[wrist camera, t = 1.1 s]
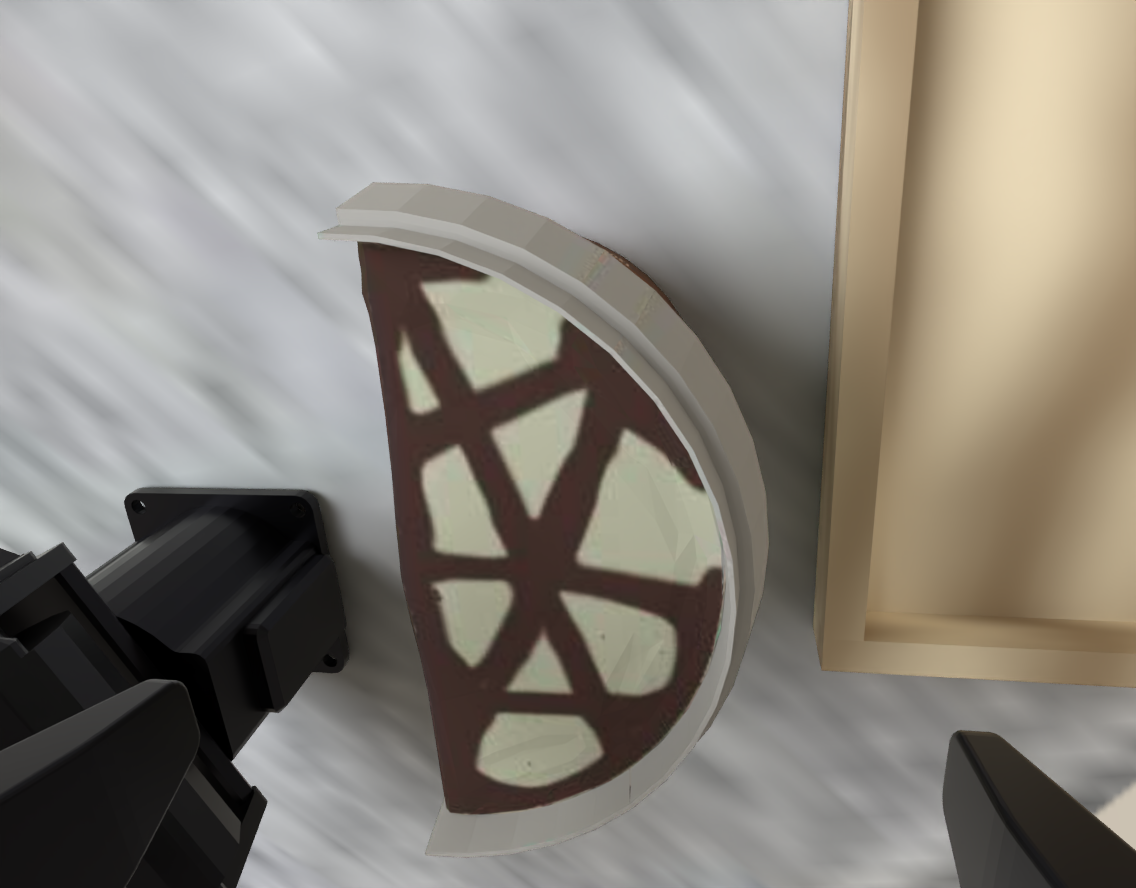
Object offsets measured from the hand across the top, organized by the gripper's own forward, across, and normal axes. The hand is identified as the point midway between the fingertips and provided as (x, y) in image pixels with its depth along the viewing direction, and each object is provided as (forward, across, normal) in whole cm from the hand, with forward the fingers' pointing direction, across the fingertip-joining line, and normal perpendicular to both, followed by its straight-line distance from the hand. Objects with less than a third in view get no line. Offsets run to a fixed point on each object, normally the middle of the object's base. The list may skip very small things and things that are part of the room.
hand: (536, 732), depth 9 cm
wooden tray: (+13, -11, -2) cm, 17 cm away
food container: (+13, 0, 0) cm, 13 cm away
